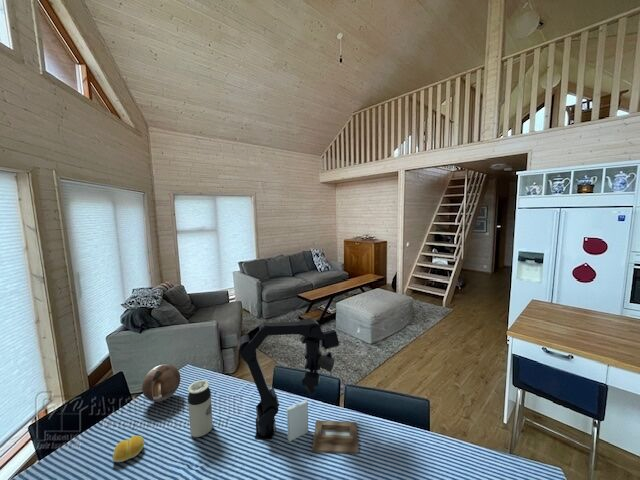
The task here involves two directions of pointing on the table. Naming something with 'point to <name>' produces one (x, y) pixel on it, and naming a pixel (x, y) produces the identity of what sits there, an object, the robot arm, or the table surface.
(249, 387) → the table surface
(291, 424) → the external hard drive
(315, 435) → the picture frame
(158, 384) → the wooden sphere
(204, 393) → the travel mug
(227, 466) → the table surface
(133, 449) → the bread roll
